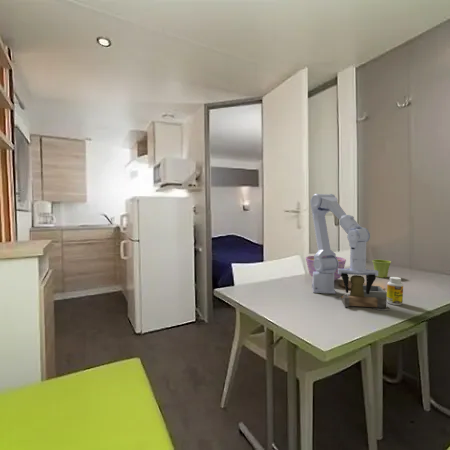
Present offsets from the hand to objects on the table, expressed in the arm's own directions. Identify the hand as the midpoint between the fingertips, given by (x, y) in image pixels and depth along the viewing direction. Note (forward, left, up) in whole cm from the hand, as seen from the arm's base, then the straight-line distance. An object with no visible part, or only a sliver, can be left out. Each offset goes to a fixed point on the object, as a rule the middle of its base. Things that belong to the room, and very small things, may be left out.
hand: (357, 292), depth 123 cm
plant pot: (+23, +53, -4) cm, 58 cm away
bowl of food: (-8, +37, -4) cm, 38 cm away
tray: (+8, +14, -4) cm, 16 cm away
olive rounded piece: (0, 0, -4) cm, 4 cm away
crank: (+2, -5, -4) cm, 6 cm away
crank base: (+8, -5, -4) cm, 10 cm away
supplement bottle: (+14, +3, -4) cm, 15 cm away
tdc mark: (-4, +6, -4) cm, 8 cm away
